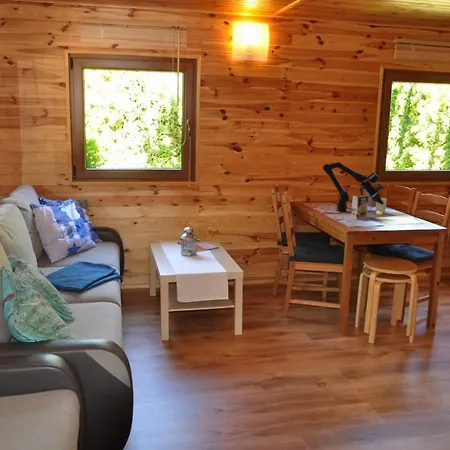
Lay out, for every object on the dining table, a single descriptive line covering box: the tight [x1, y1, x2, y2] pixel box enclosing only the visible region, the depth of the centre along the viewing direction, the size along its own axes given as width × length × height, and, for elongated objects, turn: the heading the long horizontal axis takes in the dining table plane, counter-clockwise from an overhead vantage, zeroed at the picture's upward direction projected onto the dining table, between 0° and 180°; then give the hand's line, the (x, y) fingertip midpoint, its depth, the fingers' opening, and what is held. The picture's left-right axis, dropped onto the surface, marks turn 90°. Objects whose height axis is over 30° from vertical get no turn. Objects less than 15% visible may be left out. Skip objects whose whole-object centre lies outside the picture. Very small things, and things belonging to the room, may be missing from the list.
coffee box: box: [350, 194, 368, 221], centre depth 364 cm, size 9×6×16 cm
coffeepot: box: [359, 183, 375, 208], centre depth 421 cm, size 15×9×18 cm, turn 103°
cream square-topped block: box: [374, 197, 388, 213], centre depth 386 cm, size 7×7×10 cm
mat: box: [367, 211, 397, 219], centre depth 382 cm, size 24×20×1 cm
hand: (383, 203), depth 385 cm, fingers closed on cream square-topped block, 7 cm apart
